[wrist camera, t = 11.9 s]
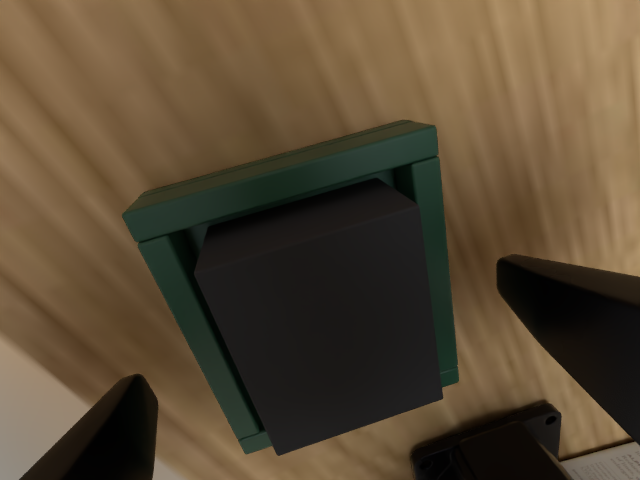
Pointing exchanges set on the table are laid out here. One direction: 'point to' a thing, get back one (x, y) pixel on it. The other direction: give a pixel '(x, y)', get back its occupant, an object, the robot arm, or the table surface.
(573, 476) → the cosmetic box
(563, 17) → the table surface
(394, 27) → the table surface
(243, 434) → the frame
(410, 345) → the charcoal pad
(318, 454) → the table surface
